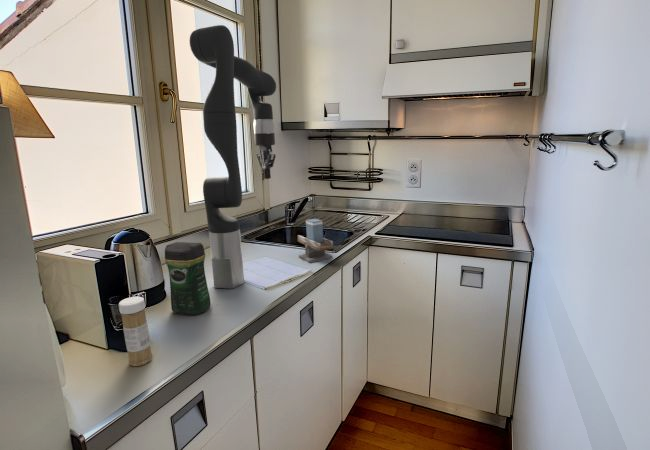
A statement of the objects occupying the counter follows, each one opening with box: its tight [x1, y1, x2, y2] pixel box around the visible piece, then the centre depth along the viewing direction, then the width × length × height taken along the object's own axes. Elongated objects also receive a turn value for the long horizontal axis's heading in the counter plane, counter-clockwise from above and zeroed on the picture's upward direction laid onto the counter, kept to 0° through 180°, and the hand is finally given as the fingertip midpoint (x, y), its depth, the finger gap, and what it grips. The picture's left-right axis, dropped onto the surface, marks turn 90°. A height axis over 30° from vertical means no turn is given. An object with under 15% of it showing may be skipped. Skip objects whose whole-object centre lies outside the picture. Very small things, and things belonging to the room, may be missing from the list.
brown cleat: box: [297, 234, 334, 264], centre depth 141 cm, size 16×10×8 cm, turn 32°
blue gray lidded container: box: [305, 218, 324, 243], centre depth 140 cm, size 5×4×8 cm
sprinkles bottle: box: [118, 296, 153, 367], centre depth 77 cm, size 5×5×14 cm
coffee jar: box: [164, 241, 212, 316], centre depth 99 cm, size 10×8×19 cm
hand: (267, 178), depth 146 cm, fingers closed
